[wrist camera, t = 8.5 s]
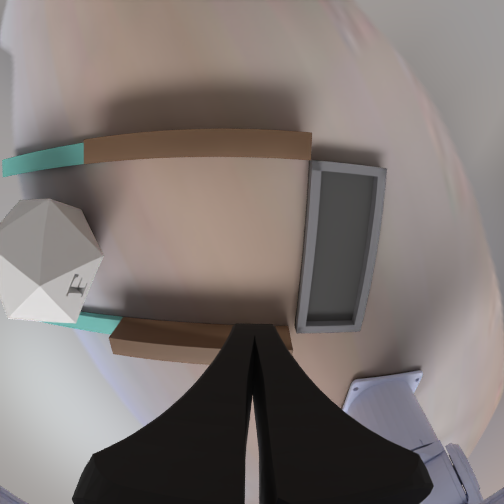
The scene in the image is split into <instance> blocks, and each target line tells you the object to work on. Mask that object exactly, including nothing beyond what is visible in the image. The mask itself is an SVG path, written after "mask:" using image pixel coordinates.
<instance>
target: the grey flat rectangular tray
mask: <svg viewBox="0 0 504 504" xmlns="http://www.w3.org/2000/svg"><path fill="white" fill-rule="evenodd" d="M386 173H387V169H386V168H380V167H372V166H365V165H356V164H348V163H338V162H328V161H317V160H309V172H308V189H307V204H306V218H305V230H304V242H303V254H302V264H301V274H300V284H299V293H298V302H297V311H296V319H295V329H296V333H334V332H357V331H360V330H361V326H362V322H363V318H364V313H365V309H366V305H367V300H368V296H369V291H370V286H371V281H372V276H373V271H374V265H375V260H376V254H377V248H378V241H379V235H380V228H381V220H382V213H383V204H384V195H385V185H386Z"/></svg>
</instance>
